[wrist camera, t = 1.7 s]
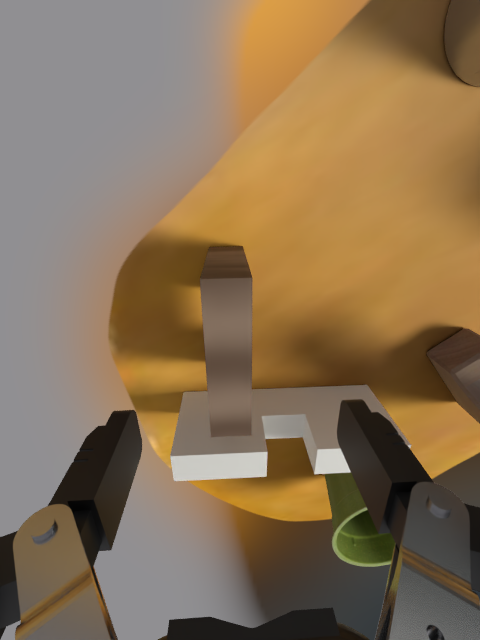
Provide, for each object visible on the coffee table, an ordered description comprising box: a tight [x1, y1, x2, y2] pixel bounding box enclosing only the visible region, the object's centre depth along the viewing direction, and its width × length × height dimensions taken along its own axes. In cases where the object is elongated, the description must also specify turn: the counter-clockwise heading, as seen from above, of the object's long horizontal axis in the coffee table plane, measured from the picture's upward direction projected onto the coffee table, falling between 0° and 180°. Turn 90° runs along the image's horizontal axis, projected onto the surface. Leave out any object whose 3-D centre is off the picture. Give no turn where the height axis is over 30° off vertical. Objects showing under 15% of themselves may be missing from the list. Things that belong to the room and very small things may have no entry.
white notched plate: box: [170, 385, 411, 481], centre depth 34 cm, size 4×24×10 cm, turn 91°
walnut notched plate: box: [200, 246, 252, 437], centre depth 28 cm, size 14×4×12 cm, turn 1°
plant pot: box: [325, 472, 395, 567], centre depth 39 cm, size 12×12×11 cm
